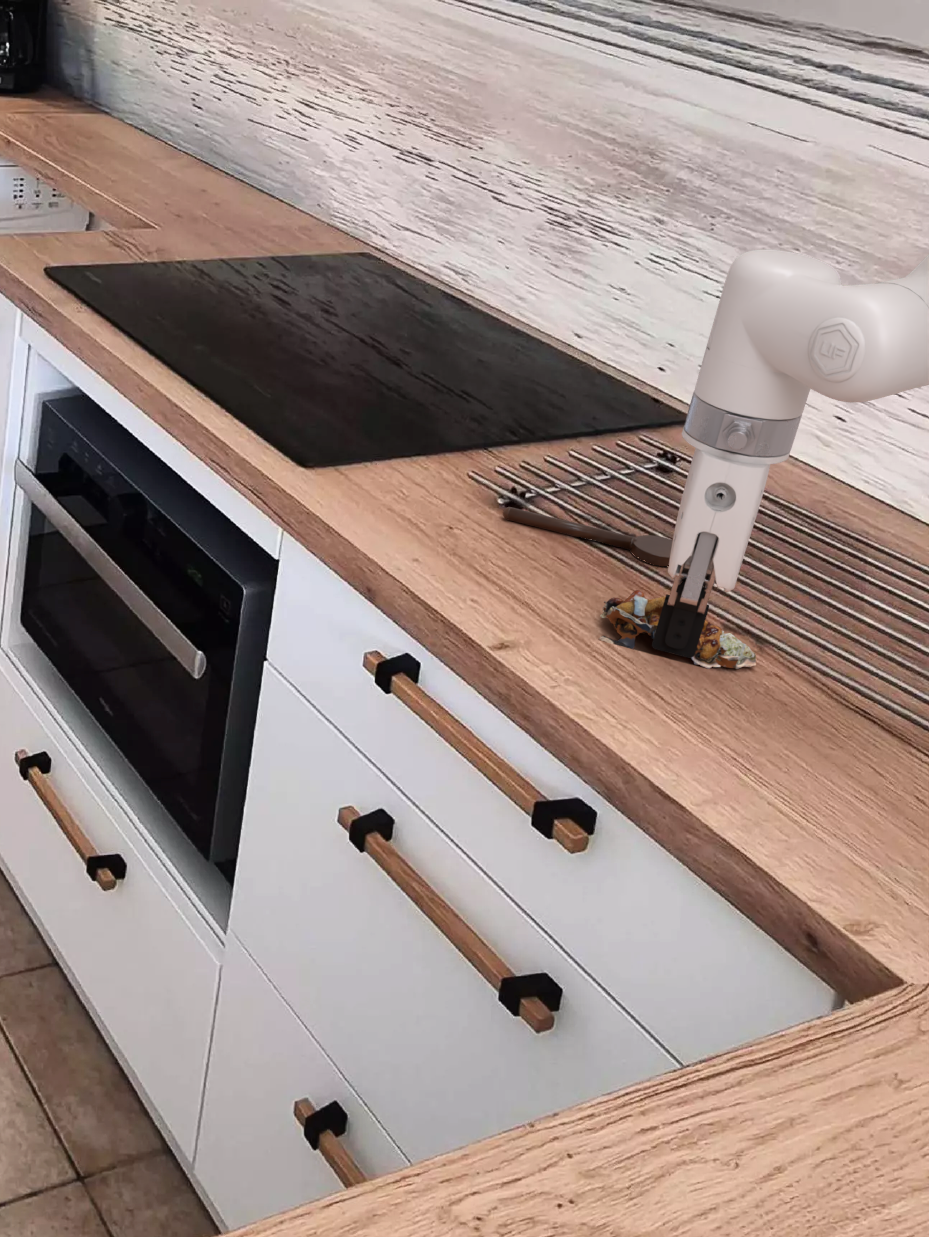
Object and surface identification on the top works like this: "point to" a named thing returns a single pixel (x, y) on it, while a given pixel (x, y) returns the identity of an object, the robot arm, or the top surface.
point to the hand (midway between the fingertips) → (673, 649)
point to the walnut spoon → (598, 535)
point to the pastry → (644, 618)
